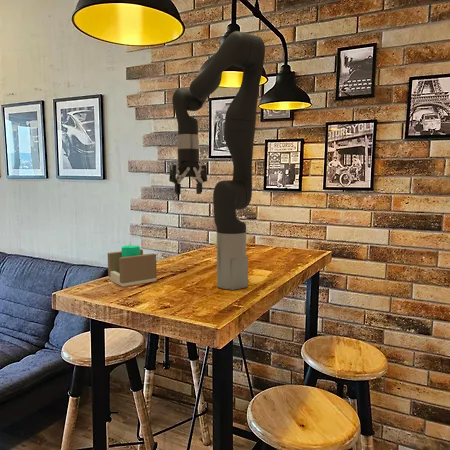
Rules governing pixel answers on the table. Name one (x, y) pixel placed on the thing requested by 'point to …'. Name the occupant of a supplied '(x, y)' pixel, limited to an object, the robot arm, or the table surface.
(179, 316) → the table surface
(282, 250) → the table surface
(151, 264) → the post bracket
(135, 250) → the candle
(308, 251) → the table surface
